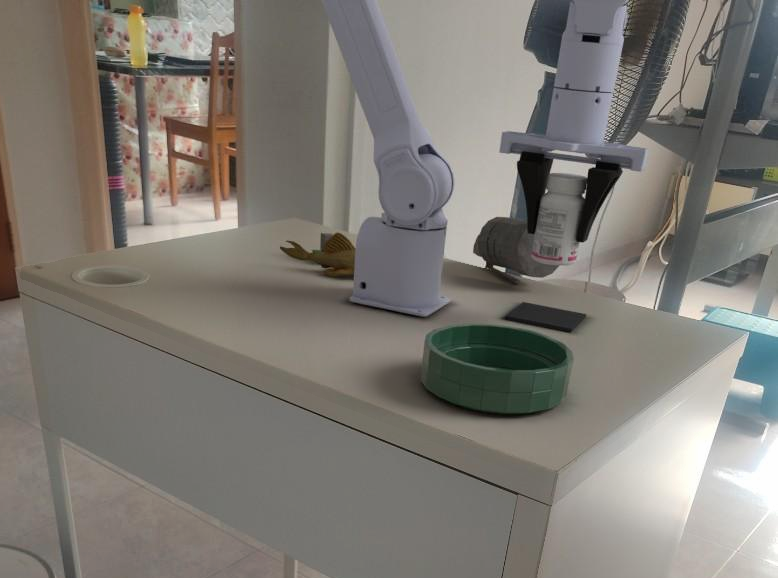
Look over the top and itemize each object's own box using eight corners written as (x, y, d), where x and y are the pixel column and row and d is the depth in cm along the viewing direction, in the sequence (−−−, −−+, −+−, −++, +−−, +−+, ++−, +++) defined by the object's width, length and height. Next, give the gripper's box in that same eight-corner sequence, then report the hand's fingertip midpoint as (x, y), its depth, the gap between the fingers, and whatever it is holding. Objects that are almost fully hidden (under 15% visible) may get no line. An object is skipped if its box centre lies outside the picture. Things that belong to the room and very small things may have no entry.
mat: (504, 319, 94) (505, 315, 93) (522, 305, 99) (523, 301, 99) (571, 332, 91) (571, 328, 91) (585, 317, 97) (586, 314, 96)
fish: (378, 288, 102) (383, 247, 100) (272, 266, 104) (274, 225, 101) (386, 277, 106) (392, 237, 104) (284, 256, 108) (287, 216, 105)
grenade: (512, 288, 102) (457, 273, 115) (568, 290, 105) (509, 275, 118) (521, 218, 99) (464, 211, 112) (579, 222, 102) (517, 214, 115)
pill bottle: (560, 255, 92) (575, 172, 87) (583, 266, 88) (601, 180, 84) (522, 255, 90) (536, 171, 86) (544, 266, 86) (560, 179, 82)
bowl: (397, 395, 71) (401, 350, 69) (450, 355, 81) (455, 314, 79) (542, 431, 67) (551, 384, 65) (579, 384, 77) (588, 342, 75)
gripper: (499, 83, 80) (479, 231, 87) (651, 99, 75) (617, 254, 82) (520, 82, 85) (500, 221, 93) (664, 97, 81) (631, 243, 88)
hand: (556, 236), depth 88 cm, fingers closed on pill bottle, 5 cm apart
